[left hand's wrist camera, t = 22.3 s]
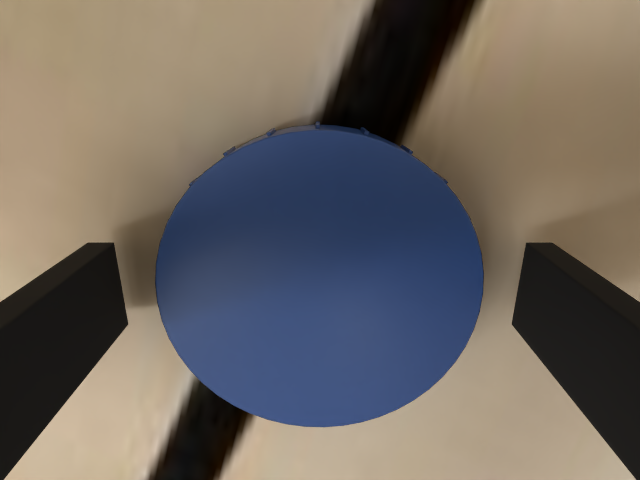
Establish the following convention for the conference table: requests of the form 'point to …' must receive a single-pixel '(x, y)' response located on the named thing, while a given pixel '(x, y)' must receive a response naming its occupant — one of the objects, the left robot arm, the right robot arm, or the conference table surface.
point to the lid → (319, 276)
